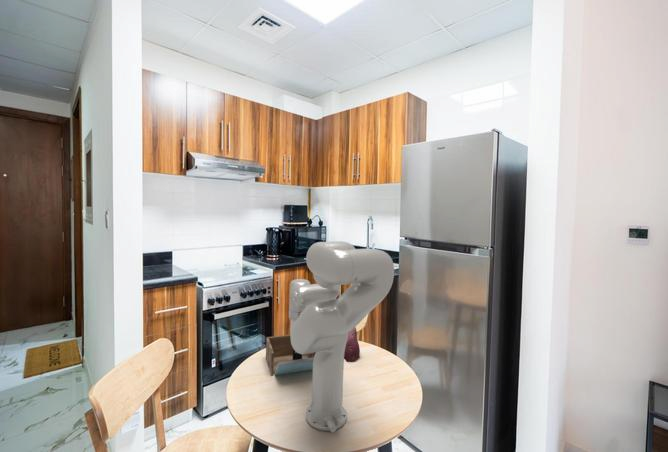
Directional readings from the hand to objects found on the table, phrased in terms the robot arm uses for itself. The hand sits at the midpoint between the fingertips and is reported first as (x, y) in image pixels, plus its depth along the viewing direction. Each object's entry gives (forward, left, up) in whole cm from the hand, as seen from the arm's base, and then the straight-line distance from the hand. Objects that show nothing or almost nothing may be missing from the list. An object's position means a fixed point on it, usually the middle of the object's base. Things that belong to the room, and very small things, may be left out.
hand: (297, 361), depth 113 cm
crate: (+12, 0, -8) cm, 14 cm away
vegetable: (+13, -26, -8) cm, 30 cm away
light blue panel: (+4, 0, -6) cm, 8 cm away
